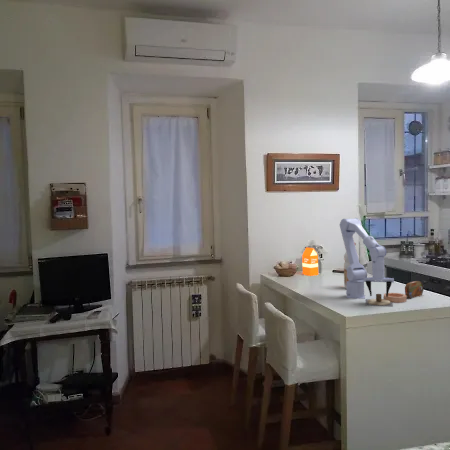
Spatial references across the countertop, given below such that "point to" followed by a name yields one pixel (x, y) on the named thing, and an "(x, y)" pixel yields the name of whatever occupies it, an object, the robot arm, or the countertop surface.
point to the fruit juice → (346, 268)
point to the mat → (378, 305)
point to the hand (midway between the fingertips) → (378, 295)
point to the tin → (414, 289)
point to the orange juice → (310, 262)
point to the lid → (378, 301)
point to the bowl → (396, 297)
